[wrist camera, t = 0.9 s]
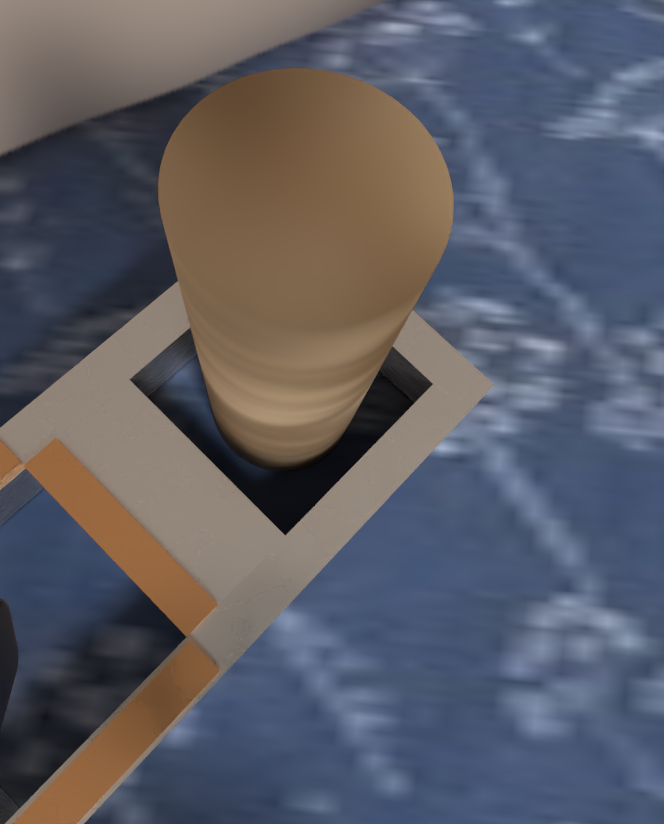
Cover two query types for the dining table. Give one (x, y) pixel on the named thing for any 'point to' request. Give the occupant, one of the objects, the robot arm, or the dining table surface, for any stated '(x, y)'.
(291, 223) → the wooden peg
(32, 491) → the compartment tray
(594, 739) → the dining table surface
